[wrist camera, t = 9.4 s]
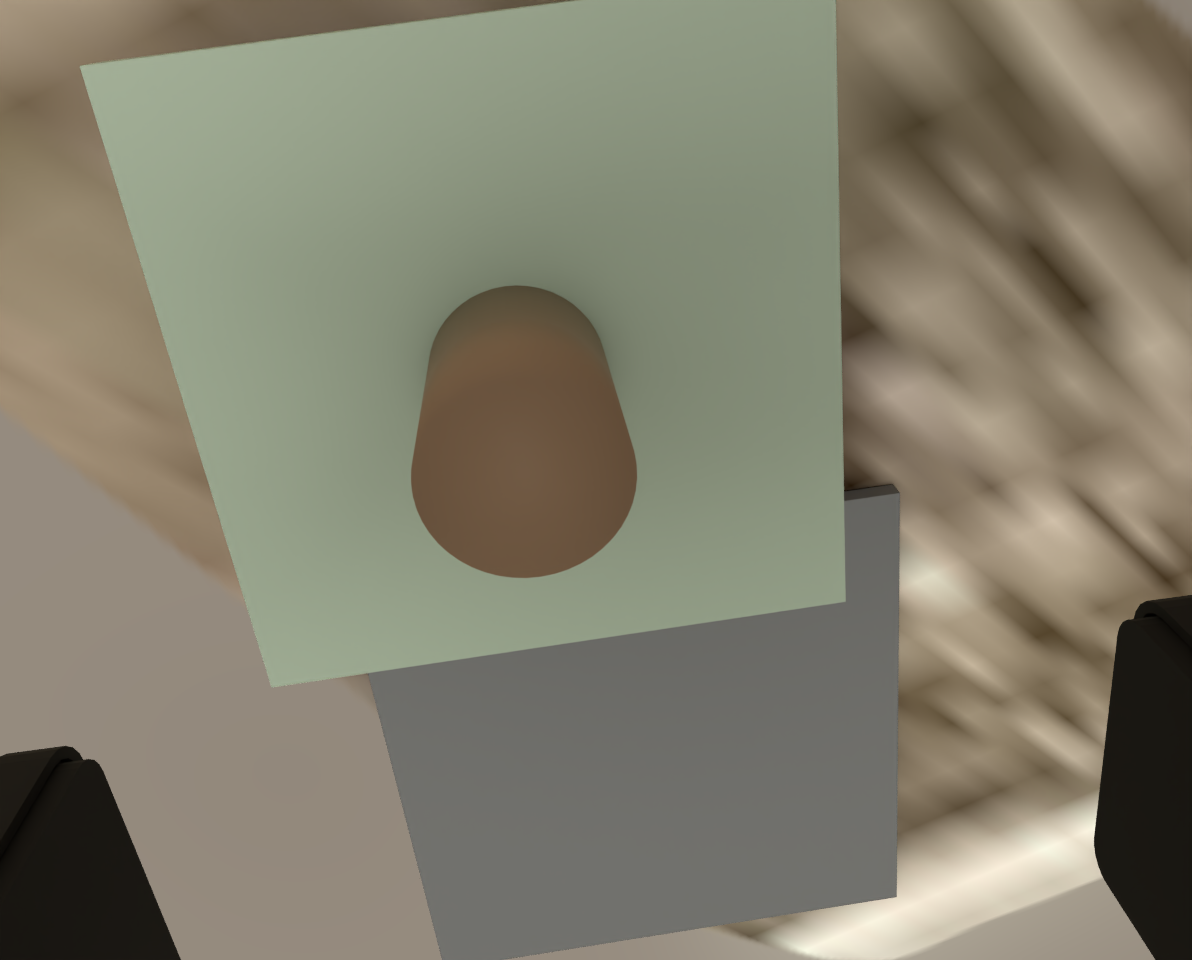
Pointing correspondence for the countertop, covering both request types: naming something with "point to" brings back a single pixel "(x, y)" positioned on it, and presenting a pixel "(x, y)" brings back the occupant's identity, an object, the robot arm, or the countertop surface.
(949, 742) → the countertop surface
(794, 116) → the lid
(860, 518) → the mat
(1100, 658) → the countertop surface
